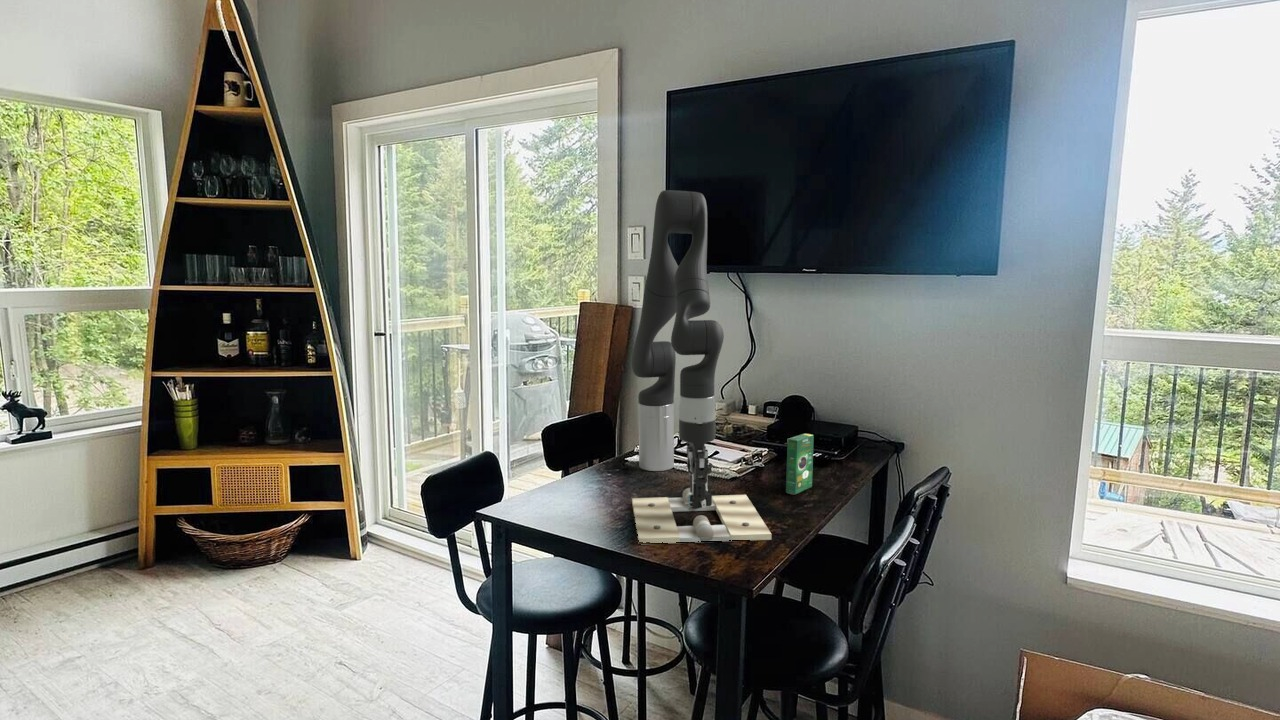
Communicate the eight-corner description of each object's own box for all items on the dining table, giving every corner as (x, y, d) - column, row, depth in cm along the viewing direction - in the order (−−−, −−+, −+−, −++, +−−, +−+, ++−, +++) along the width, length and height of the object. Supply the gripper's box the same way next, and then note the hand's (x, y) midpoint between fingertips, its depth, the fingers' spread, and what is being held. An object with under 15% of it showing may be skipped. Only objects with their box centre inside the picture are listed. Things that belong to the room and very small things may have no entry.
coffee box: (802, 484, 171) (803, 431, 169) (813, 487, 169) (814, 433, 167) (784, 492, 165) (786, 438, 163) (795, 495, 163) (797, 440, 161)
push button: (692, 513, 144) (693, 466, 142) (676, 506, 148) (676, 460, 147) (717, 507, 148) (717, 461, 146) (701, 500, 152) (701, 455, 150)
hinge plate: (632, 503, 159) (632, 489, 158) (746, 499, 161) (746, 486, 160) (638, 544, 136) (638, 528, 136) (771, 539, 138) (771, 524, 137)
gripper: (675, 409, 152) (675, 486, 154) (683, 425, 138) (683, 509, 140) (709, 409, 152) (709, 485, 155) (721, 424, 138) (720, 508, 141)
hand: (697, 496), depth 148 cm, fingers closed on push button, 4 cm apart
